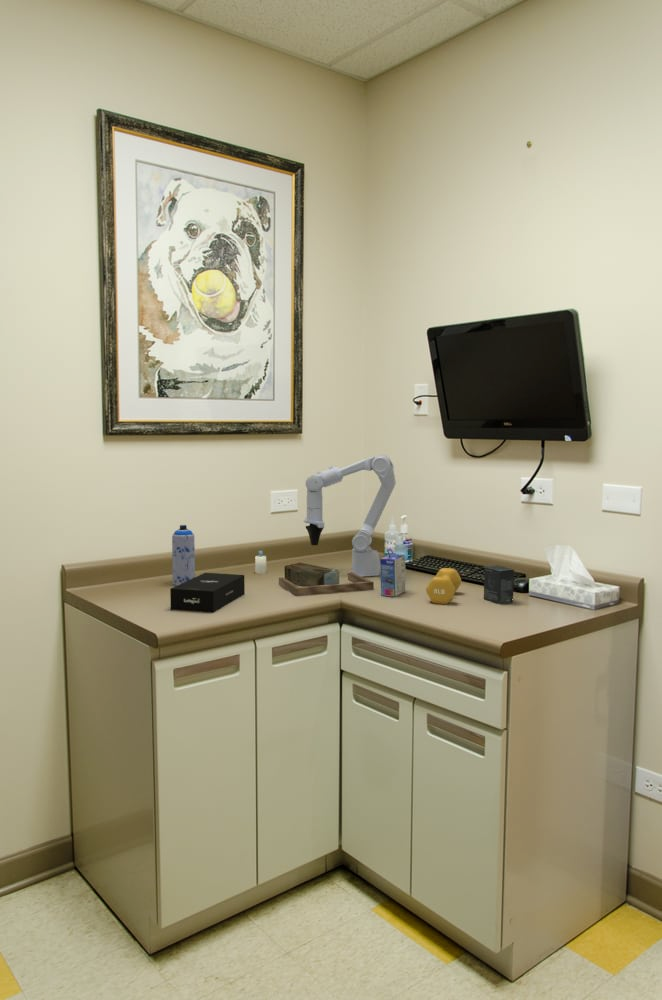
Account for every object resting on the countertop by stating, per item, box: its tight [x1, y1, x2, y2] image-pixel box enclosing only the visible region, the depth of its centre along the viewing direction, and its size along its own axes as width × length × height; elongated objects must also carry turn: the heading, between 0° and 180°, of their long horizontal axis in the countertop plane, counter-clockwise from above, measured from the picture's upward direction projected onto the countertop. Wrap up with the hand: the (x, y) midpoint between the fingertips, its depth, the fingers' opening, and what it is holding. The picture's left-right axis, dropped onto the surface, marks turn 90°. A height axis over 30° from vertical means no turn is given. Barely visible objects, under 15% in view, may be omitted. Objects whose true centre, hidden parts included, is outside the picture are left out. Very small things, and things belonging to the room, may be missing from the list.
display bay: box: [278, 571, 375, 597], centre depth 255 cm, size 27×18×2 cm, turn 112°
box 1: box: [169, 572, 246, 613], centre depth 234 cm, size 25×14×7 cm, turn 165°
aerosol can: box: [171, 524, 196, 586], centre depth 259 cm, size 8×8×20 cm
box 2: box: [483, 564, 515, 605], centre depth 236 cm, size 8×6×11 cm
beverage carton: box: [284, 562, 340, 587], centre depth 259 cm, size 8×19×7 cm, turn 48°
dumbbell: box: [425, 567, 462, 605], centre depth 240 cm, size 19×9×8 cm, turn 163°
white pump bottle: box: [254, 550, 267, 575], centre depth 279 cm, size 4×4×8 cm
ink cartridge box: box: [379, 548, 406, 598], centre depth 246 cm, size 10×6×14 cm, turn 155°
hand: (314, 545), depth 278 cm, fingers closed
